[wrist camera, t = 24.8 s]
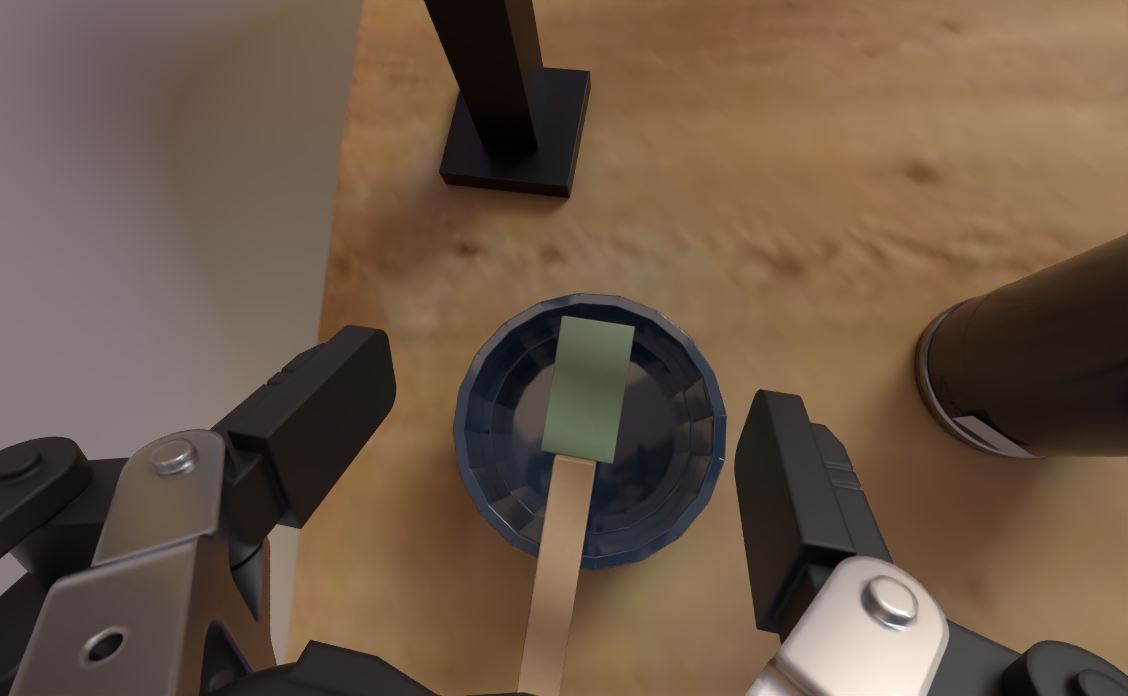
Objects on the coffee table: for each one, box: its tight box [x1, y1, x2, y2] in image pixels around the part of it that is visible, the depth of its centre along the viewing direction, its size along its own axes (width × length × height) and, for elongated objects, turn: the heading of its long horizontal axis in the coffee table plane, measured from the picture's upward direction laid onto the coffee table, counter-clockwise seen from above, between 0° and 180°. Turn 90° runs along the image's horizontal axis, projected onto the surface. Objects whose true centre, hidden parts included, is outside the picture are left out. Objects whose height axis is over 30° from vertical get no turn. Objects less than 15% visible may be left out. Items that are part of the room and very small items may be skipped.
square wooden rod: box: [516, 316, 635, 696], centre depth 21 cm, size 22×3×2 cm, turn 169°
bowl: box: [453, 293, 727, 570], centre depth 27 cm, size 13×13×6 cm
